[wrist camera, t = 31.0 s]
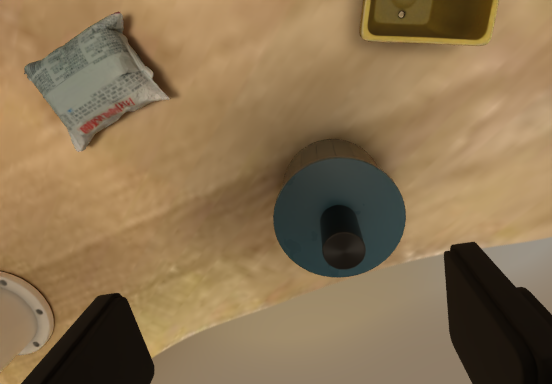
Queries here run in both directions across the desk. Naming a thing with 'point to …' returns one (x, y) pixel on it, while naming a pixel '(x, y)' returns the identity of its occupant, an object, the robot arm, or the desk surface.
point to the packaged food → (94, 80)
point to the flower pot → (429, 21)
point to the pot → (326, 154)
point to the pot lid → (339, 217)
